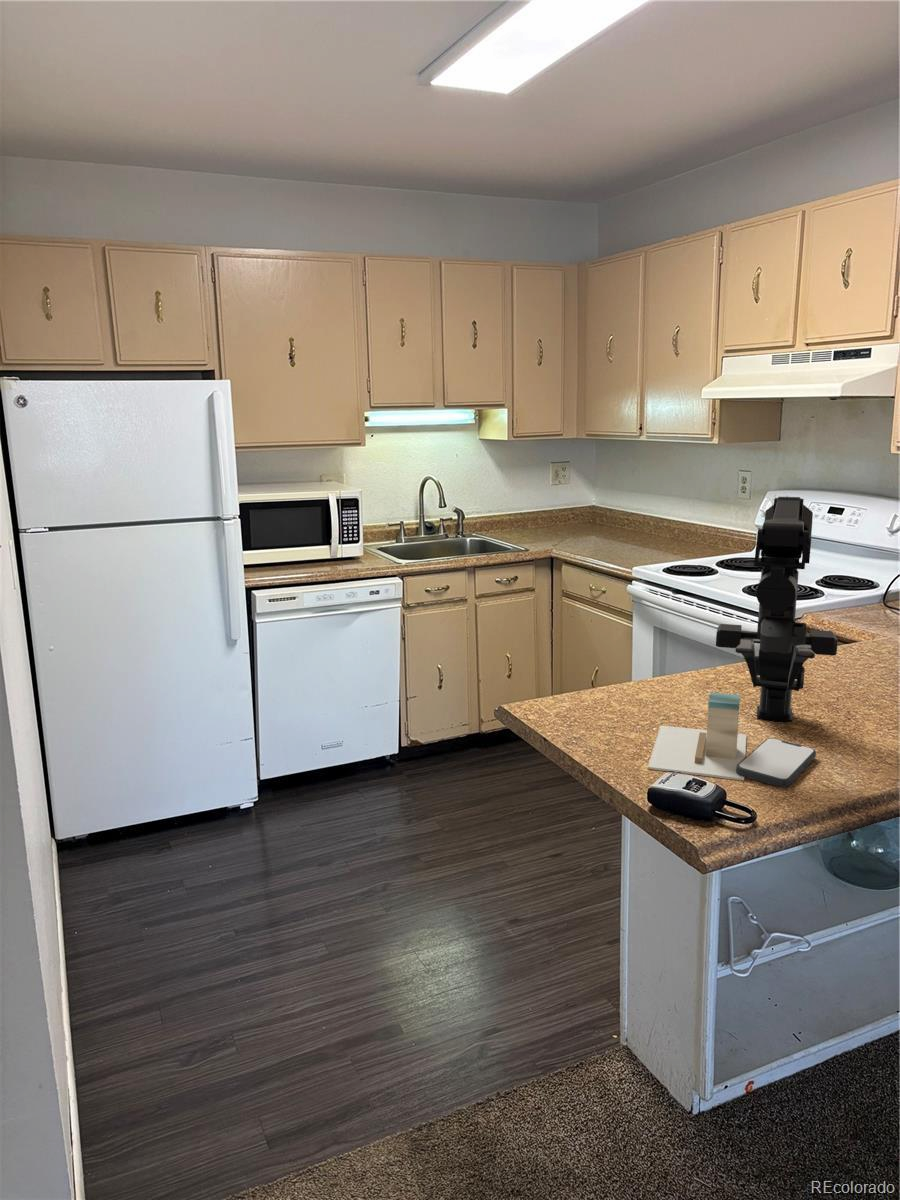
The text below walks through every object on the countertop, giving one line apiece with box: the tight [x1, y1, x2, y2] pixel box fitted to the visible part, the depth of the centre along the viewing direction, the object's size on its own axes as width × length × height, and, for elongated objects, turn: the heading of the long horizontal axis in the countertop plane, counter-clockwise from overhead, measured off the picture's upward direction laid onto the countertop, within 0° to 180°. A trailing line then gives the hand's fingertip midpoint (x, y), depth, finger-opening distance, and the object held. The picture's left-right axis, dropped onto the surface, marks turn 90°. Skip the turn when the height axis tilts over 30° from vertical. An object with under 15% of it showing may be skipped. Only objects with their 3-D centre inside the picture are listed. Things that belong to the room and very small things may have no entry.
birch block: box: [706, 692, 741, 760], centre depth 150 cm, size 5×5×10 cm
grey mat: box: [647, 725, 747, 782], centre depth 152 cm, size 20×16×1 cm
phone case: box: [736, 737, 817, 788], centre depth 145 cm, size 9×2×16 cm
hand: (771, 688), depth 146 cm, fingers open, 5 cm apart
